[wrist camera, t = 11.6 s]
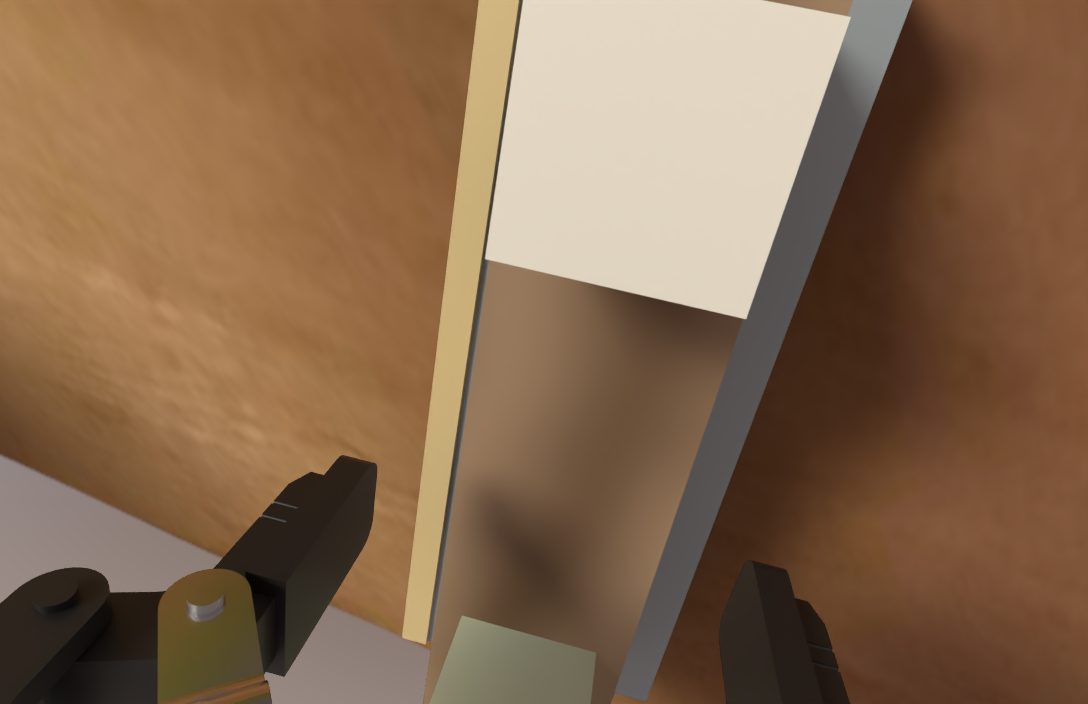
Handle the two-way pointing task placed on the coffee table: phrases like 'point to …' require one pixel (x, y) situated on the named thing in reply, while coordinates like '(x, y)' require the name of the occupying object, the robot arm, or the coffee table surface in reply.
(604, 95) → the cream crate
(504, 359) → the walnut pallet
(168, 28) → the coffee table surface
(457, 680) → the block
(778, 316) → the slate dock
